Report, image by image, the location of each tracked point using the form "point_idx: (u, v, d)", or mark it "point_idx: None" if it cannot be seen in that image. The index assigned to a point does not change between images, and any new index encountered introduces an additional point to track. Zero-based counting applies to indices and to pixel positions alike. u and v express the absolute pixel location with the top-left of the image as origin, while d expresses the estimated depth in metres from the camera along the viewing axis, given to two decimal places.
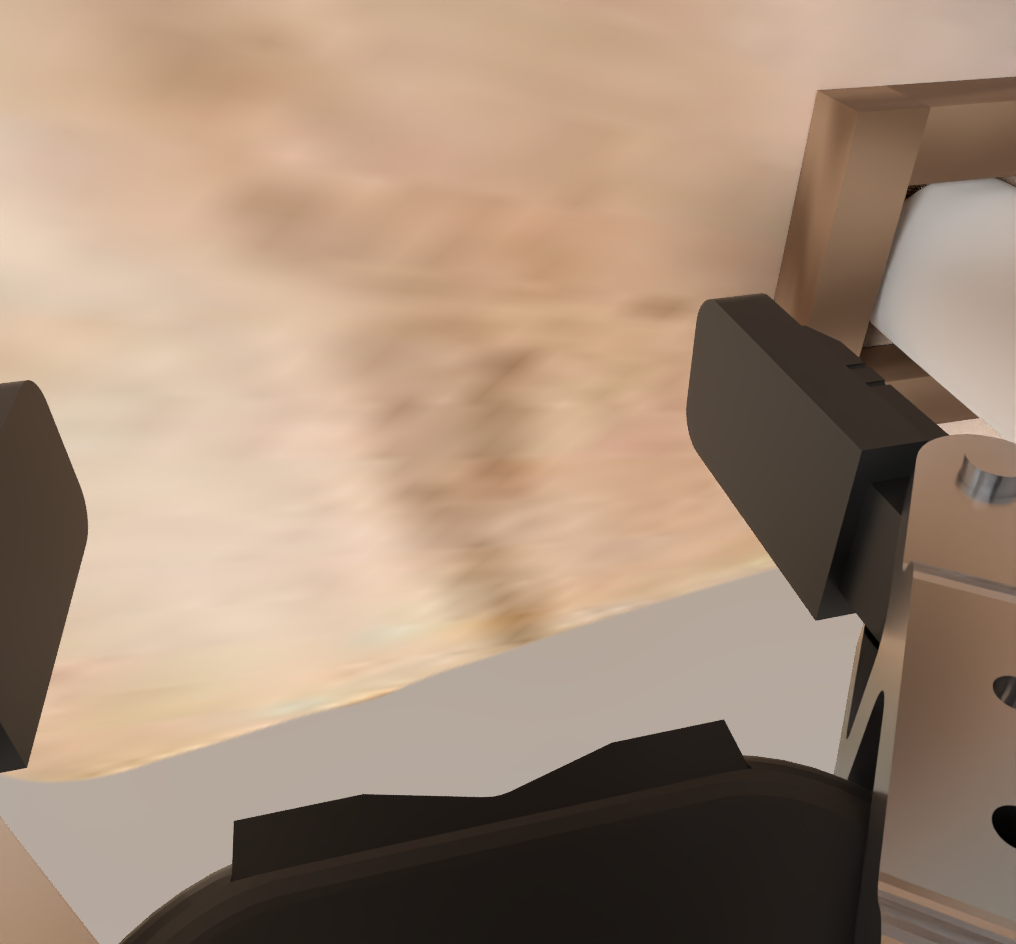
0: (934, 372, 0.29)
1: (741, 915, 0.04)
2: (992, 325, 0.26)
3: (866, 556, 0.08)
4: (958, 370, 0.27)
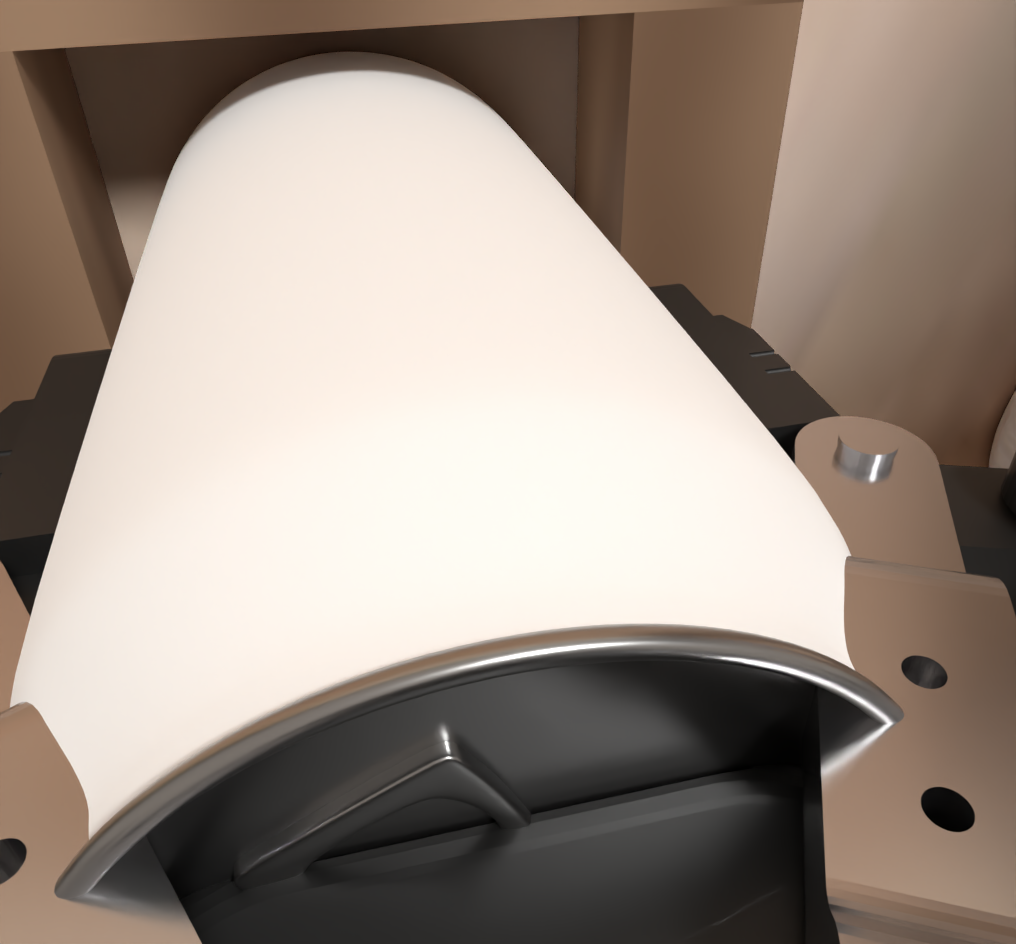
0: (198, 201, 0.09)
1: (741, 915, 0.04)
2: (506, 203, 0.08)
3: None
4: (289, 192, 0.08)
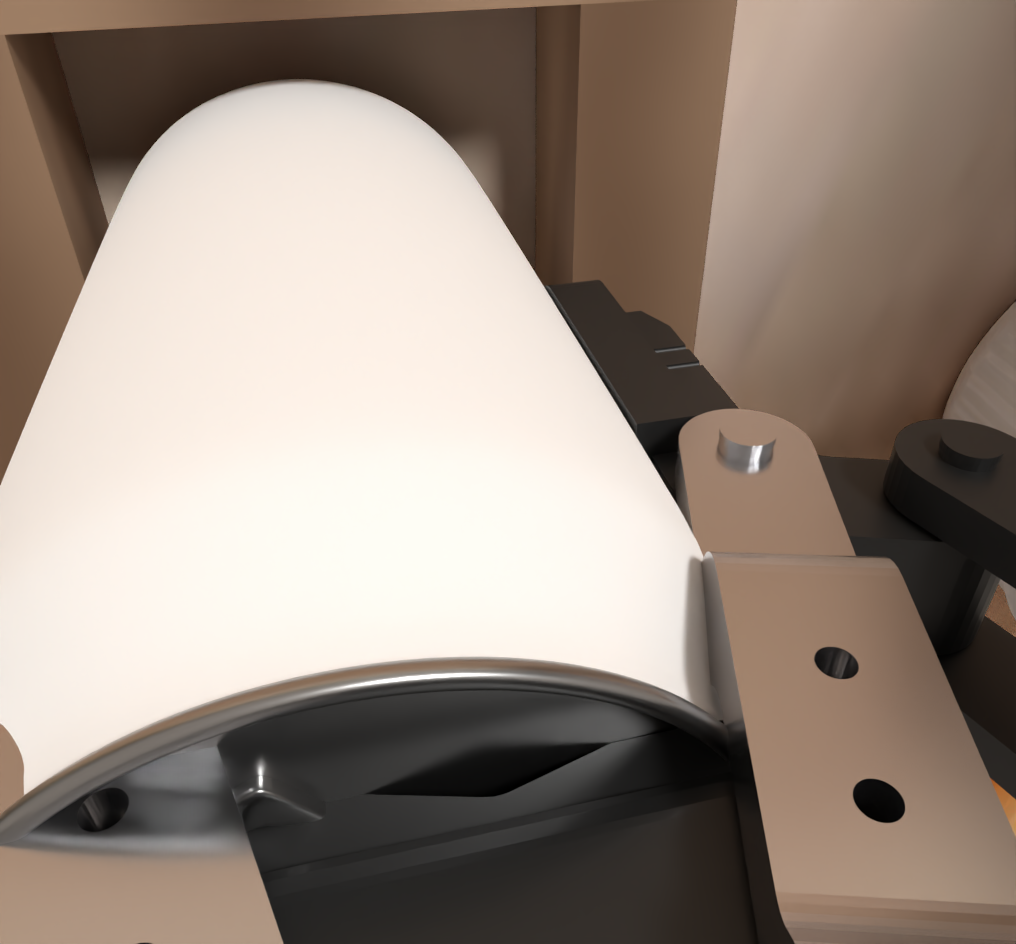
0: (104, 260, 0.09)
1: (741, 915, 0.04)
2: (367, 234, 0.08)
3: None
4: (165, 250, 0.08)
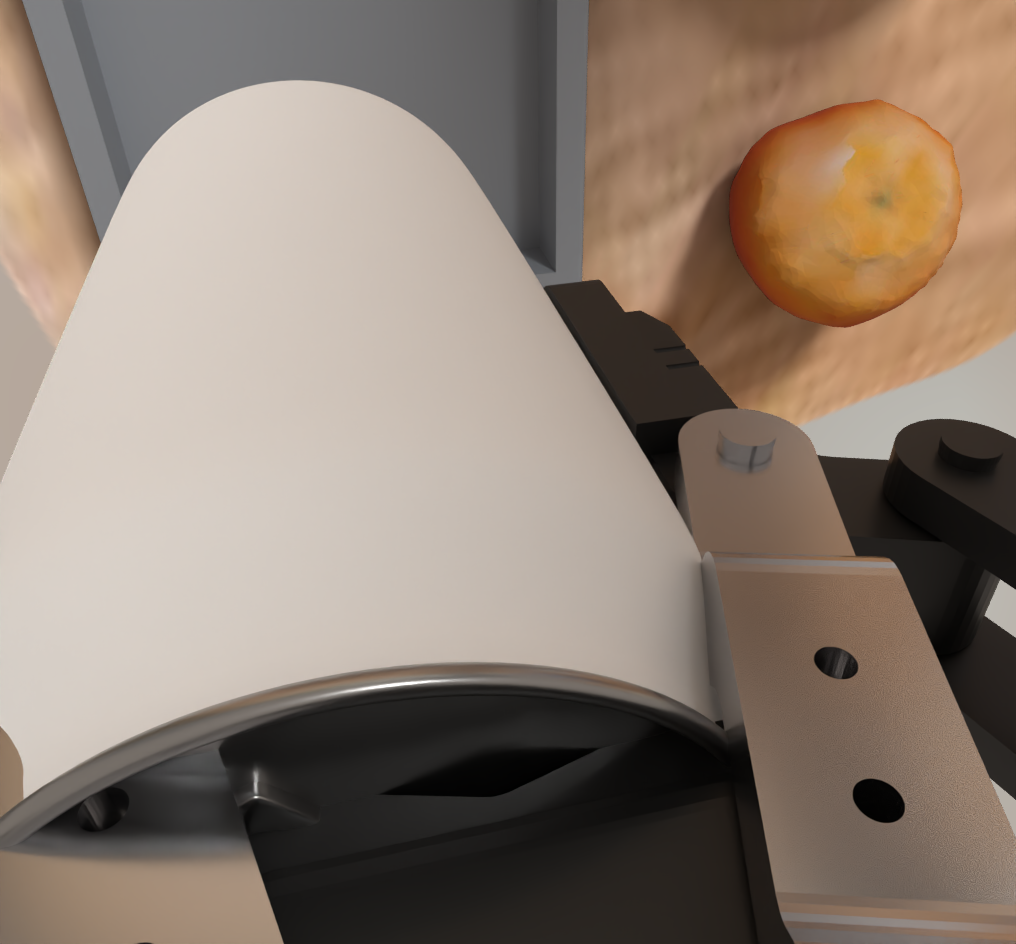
0: (101, 263, 0.09)
1: (742, 915, 0.04)
2: (363, 237, 0.08)
3: None
4: (162, 254, 0.08)
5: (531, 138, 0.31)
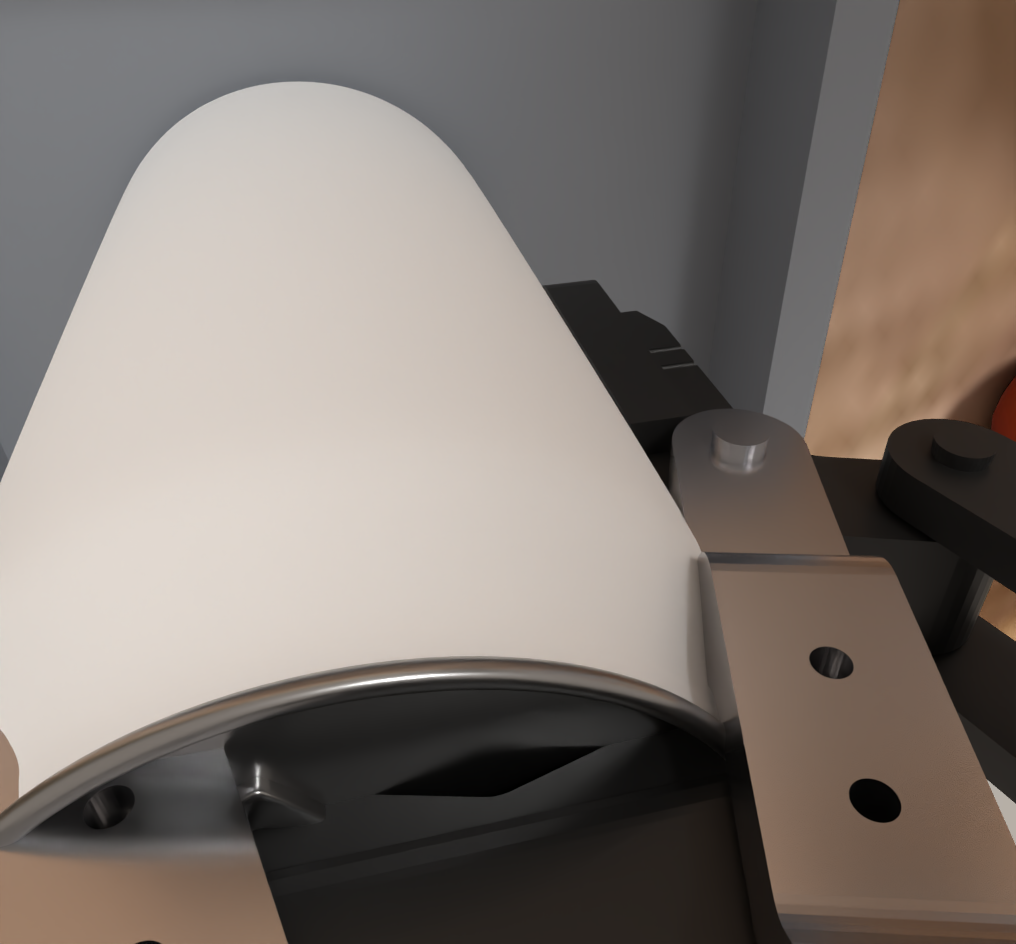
0: (102, 263, 0.09)
1: (741, 915, 0.04)
2: (364, 235, 0.08)
3: None
4: (162, 252, 0.08)
5: (700, 346, 0.18)
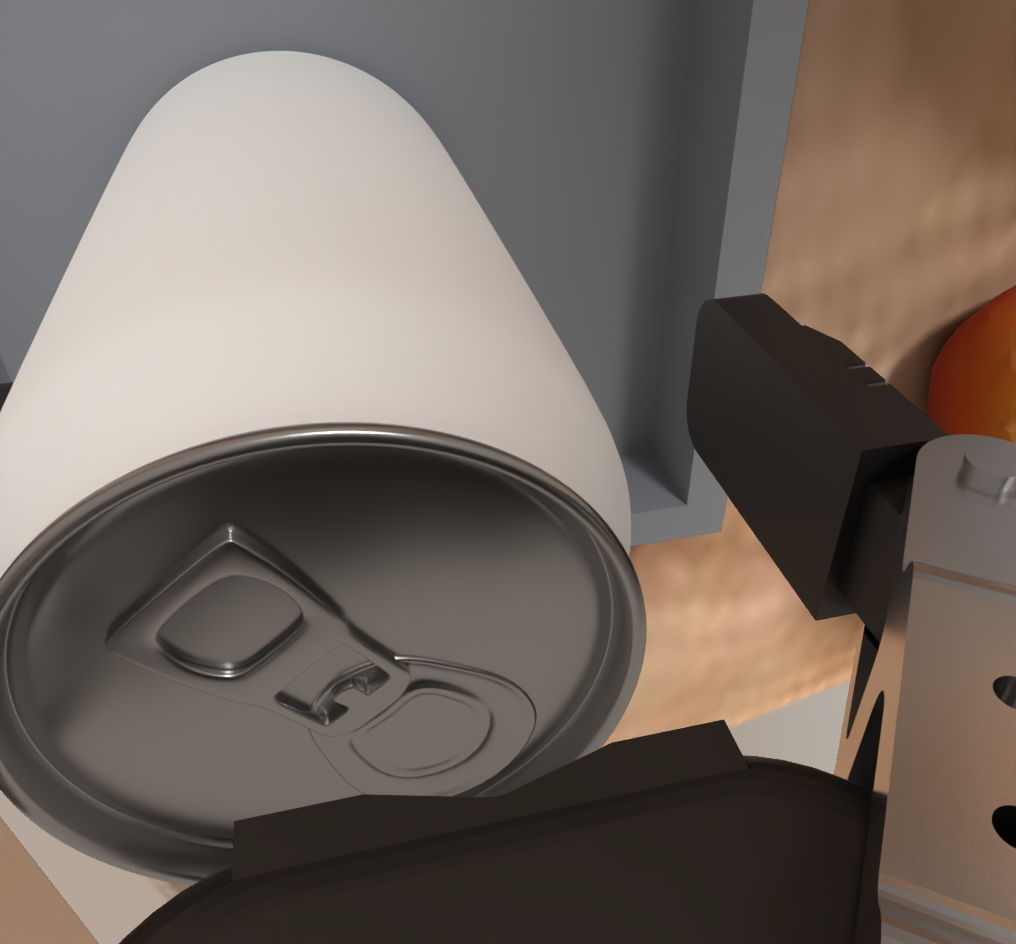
0: (108, 194, 0.11)
1: (741, 915, 0.04)
2: (327, 159, 0.09)
3: (866, 556, 0.08)
4: (161, 176, 0.10)
5: (653, 302, 0.20)
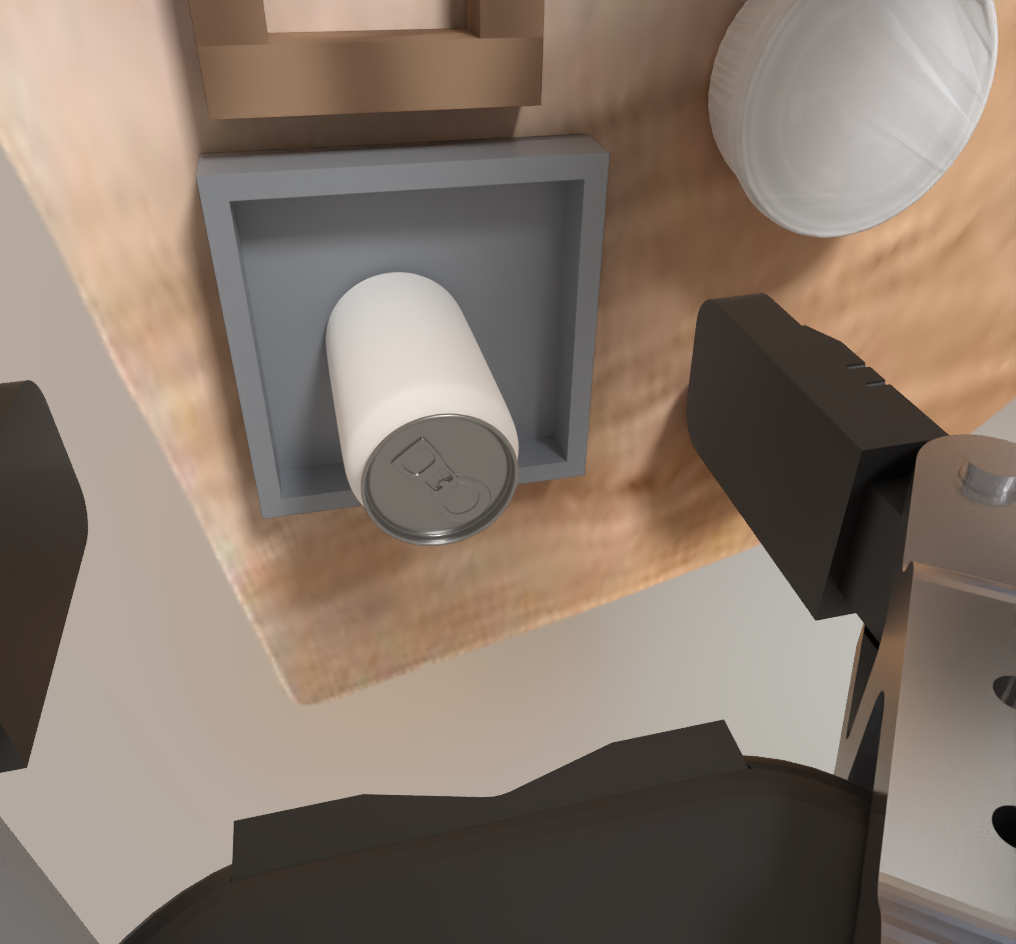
0: (354, 340, 0.34)
1: (741, 915, 0.04)
2: (432, 338, 0.32)
3: (866, 556, 0.08)
4: (380, 341, 0.32)
5: (551, 367, 0.43)
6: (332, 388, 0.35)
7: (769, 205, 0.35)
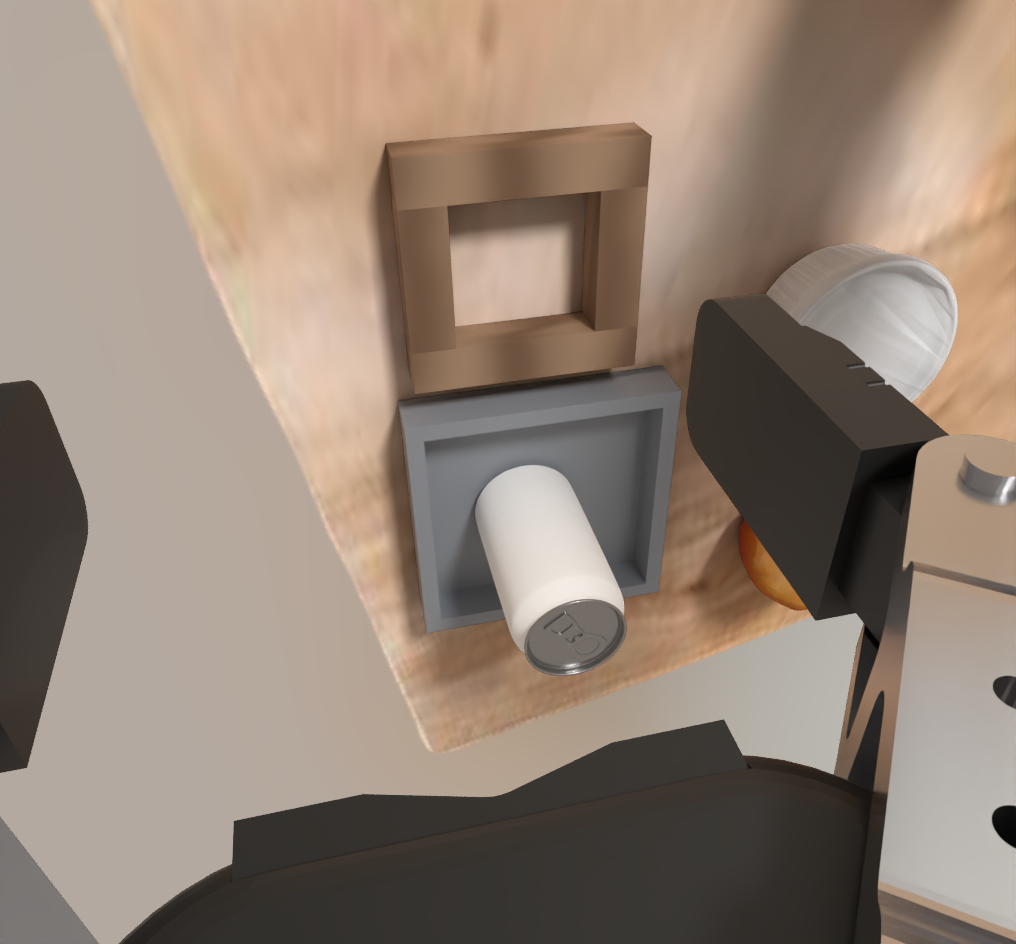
0: (506, 528, 0.49)
1: (741, 915, 0.04)
2: (563, 532, 0.47)
3: (866, 556, 0.08)
4: (528, 534, 0.48)
5: (633, 515, 0.57)
6: (489, 558, 0.50)
7: None
